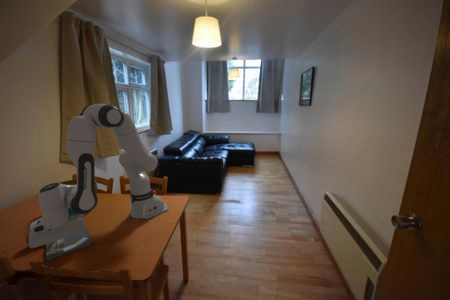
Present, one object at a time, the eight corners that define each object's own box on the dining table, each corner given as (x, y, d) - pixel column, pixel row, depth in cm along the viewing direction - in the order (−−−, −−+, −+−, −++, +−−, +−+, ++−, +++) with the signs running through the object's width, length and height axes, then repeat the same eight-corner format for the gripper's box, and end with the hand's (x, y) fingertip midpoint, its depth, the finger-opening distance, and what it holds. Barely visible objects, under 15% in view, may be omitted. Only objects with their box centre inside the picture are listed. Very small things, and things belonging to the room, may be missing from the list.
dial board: (87, 229, 114) (87, 227, 114) (92, 245, 102) (91, 242, 102) (46, 242, 104) (46, 239, 104) (46, 260, 92) (45, 258, 92)
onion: (25, 247, 100) (21, 232, 98) (39, 240, 105) (36, 225, 103) (32, 250, 98) (29, 235, 96) (46, 243, 103) (43, 228, 101)
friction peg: (69, 234, 108) (67, 222, 106) (56, 253, 94) (53, 241, 93) (64, 234, 107) (62, 223, 106) (50, 254, 93) (47, 242, 92)
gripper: (83, 209, 102) (87, 234, 106) (26, 224, 90) (32, 252, 93) (85, 214, 98) (89, 241, 101) (25, 231, 85) (32, 261, 88)
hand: (61, 246), depth 97 cm, fingers closed
